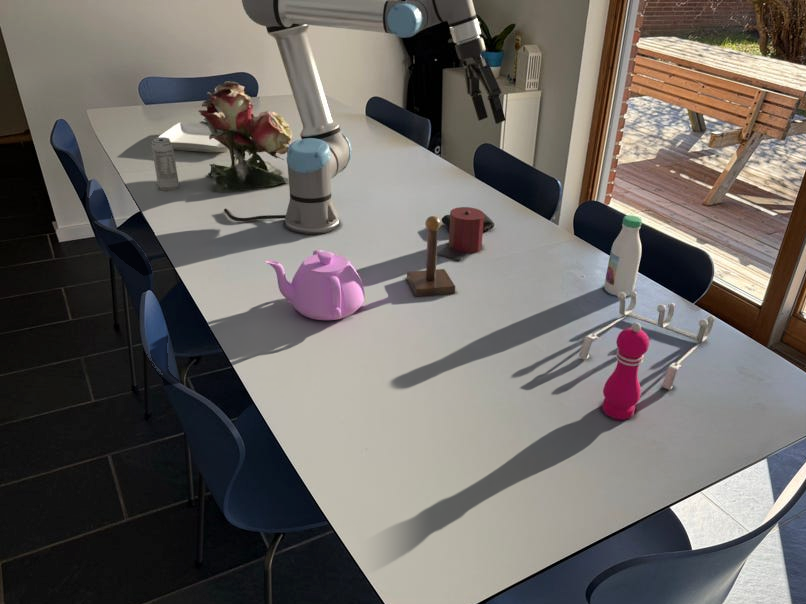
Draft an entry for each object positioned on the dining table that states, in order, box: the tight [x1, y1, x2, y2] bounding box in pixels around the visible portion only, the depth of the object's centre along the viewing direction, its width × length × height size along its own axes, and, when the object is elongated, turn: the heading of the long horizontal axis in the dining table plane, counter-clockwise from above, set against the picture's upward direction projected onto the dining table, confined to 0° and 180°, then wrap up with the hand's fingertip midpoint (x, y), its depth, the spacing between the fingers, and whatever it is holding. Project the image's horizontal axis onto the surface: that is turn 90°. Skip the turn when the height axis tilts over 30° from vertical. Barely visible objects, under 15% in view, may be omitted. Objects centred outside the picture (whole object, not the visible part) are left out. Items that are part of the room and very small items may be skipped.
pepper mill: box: [602, 322, 650, 420], centre depth 138 cm, size 7×7×20 cm
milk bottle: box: [603, 214, 643, 297], centre depth 183 cm, size 8×8×20 cm
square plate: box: [156, 121, 230, 154], centre depth 265 cm, size 27×27×4 cm
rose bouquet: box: [197, 80, 293, 193], centre depth 232 cm, size 26×29×30 cm
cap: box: [437, 206, 484, 262], centre depth 200 cm, size 14×10×11 cm, turn 153°
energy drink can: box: [150, 136, 180, 191], centre depth 223 cm, size 6×6×15 cm
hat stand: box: [406, 215, 456, 297], centre depth 178 cm, size 10×10×19 cm
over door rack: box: [578, 290, 716, 391], centre depth 162 cm, size 22×29×10 cm
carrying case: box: [440, 212, 495, 232], centre depth 216 cm, size 11×3×15 cm
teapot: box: [265, 249, 366, 321], centre depth 165 cm, size 22×22×14 cm
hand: (491, 120), depth 198 cm, fingers open, 13 cm apart
